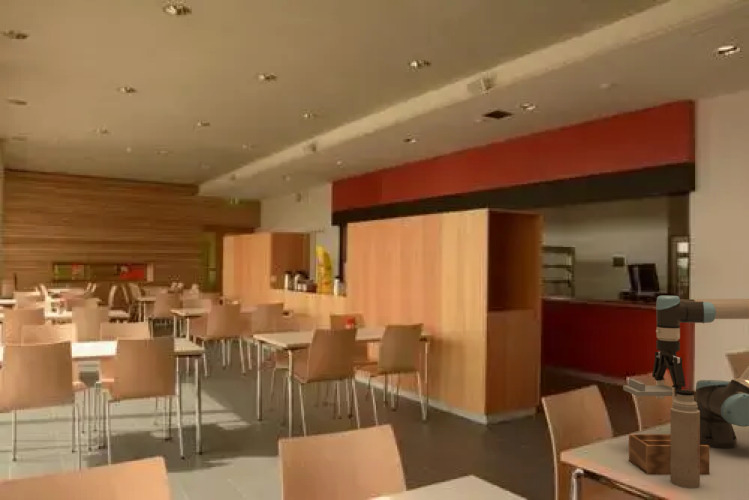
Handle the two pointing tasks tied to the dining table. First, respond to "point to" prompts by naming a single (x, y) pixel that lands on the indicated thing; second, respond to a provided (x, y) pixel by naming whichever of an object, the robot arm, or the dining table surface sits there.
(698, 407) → the robot arm
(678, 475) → the thermos bottle
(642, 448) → the walnut box
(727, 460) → the dining table surface
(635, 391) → the slate lid
